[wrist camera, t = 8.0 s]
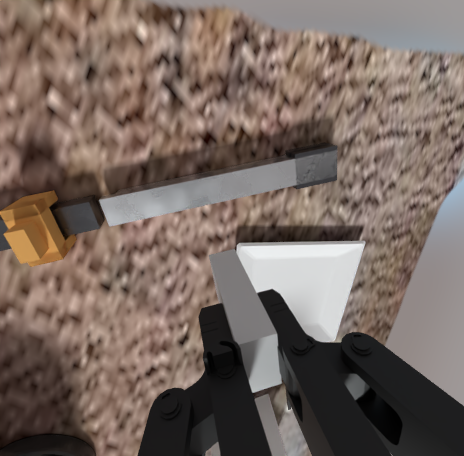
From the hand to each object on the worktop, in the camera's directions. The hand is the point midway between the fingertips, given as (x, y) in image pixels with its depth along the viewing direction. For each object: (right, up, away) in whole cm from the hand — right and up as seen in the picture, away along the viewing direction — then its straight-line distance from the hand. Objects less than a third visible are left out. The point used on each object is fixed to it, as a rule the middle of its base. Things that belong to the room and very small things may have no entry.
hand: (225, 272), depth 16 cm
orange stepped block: (-19, +4, +13) cm, 24 cm away
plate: (+9, -7, +25) cm, 28 cm away
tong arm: (0, +8, +15) cm, 16 cm away
